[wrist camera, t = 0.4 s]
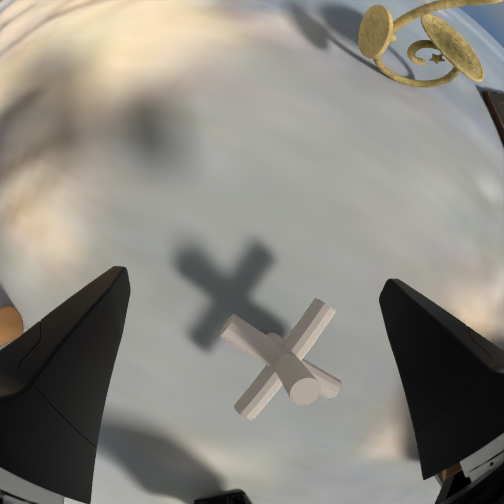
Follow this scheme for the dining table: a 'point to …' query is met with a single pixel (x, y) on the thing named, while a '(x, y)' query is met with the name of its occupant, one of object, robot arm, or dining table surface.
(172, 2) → the dining table surface
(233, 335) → the pipe connector
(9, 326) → the pin
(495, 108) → the religious icon
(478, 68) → the wall sconce
